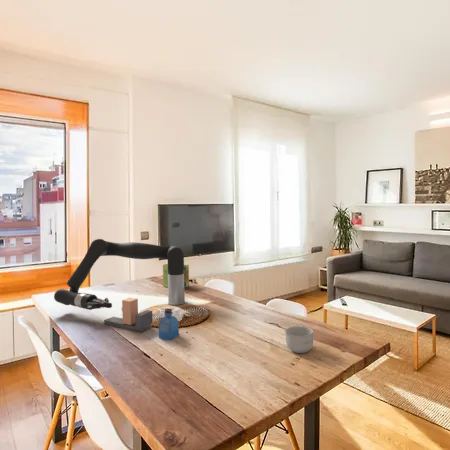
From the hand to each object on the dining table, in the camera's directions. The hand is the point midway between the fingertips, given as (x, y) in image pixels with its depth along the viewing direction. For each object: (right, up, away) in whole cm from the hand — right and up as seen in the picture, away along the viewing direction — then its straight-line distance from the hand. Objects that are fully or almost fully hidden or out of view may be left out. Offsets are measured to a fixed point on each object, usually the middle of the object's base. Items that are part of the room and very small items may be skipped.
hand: (110, 305), depth 168 cm
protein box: (+22, -4, +73) cm, 76 cm away
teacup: (+86, -10, -31) cm, 92 cm away
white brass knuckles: (+29, -8, +9) cm, 31 cm away
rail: (+9, -9, -4) cm, 13 cm away
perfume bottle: (+31, -10, -17) cm, 37 cm away
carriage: (+11, -7, -5) cm, 14 cm away
